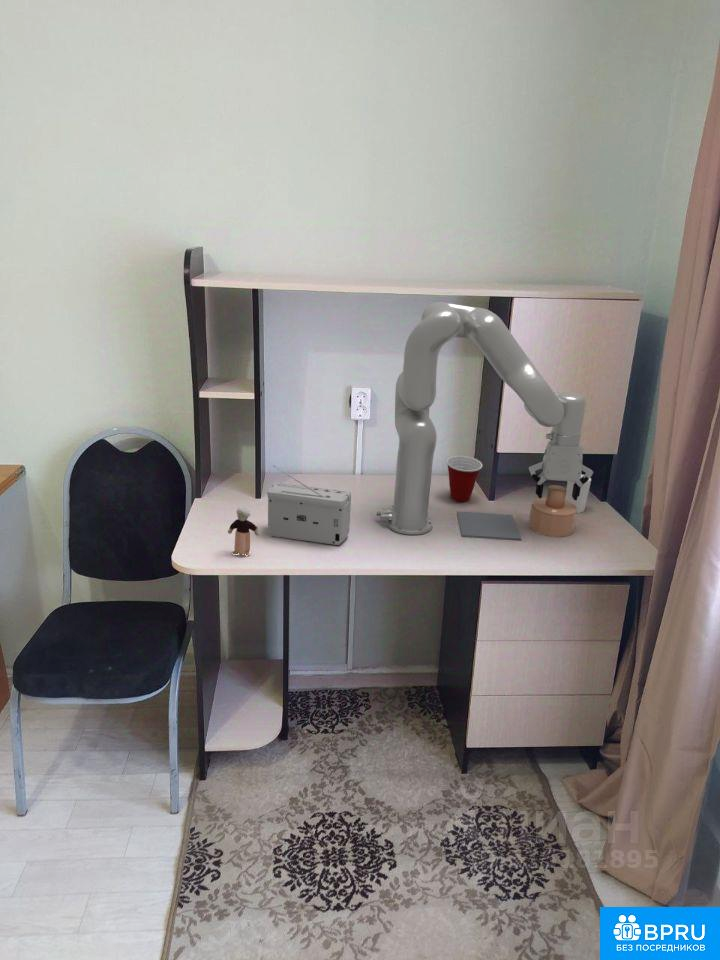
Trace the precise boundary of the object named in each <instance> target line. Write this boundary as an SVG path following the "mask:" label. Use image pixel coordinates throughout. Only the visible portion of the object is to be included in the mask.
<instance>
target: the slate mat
mask: <svg viewBox="0 0 720 960" xmlns="http://www.w3.org/2000/svg"><path fill="white" fill-rule="evenodd" d="M456 515H457V520H458V521H457V522H458V525H459V532H460V535H461V537H462V538H472V537H473V538H476V539H489V540H490V539H492V540H505V541H508V540H509V541H522V537H521V534H520V531H519V528H518V526H517V523H516V520H515V517H514V515H513V514H510V513H508V514H507V513H494V512H493V513H492V512H480V511H479V512H477V511H463V510H456Z"/></svg>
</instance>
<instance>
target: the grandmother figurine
mask: <svg viewBox="0 0 720 960" xmlns="http://www.w3.org/2000/svg"><path fill="white" fill-rule="evenodd" d="M236 515H237V519H235V520H234V521H232V523H231V525H229V528H228V531H227V533H228V534H232V533H233V531H234V530H235V529H236V530H235V534H234V535H235V536H234V548H233V549H234V550H233V551H232V552H231V554H232V553H233V554H238V553H239V554H240V555H242V554H244V555H245V554H246V555H248V554H249V551H250V552H251V532H250V530H251V531H252V532H253V533H254V535H255V536H256V537H257V536H259V535H260V532H259V530H258V526H256V524H254V523H253V522H251V521H250V520H248V518H249V517H250V516H251V512H250V510H249V509H248V508H247V507H246V506H239V507H238V508H237V509H236Z"/></svg>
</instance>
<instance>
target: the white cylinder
mask: <svg viewBox="0 0 720 960" xmlns="http://www.w3.org/2000/svg"><path fill="white" fill-rule="evenodd" d="M584 475H585V474H582V473H581V478H582V477H583V476H584ZM566 482H567V485H566V490H567V491H566V497H565V500H567V501H569V502H571V503H573V504H574V505H575V506H576V507H577V514H579V513H583V512H585V508H586V505H587V500H588V497H589V492H590V487H591V482H592V478H591V477H590V478H589V480H588V481H587V482H586V483H585V484H583V486H582V487H581V489H580V495H579V497H577V500H574V499H573V497H572V492H573V485H574V483H575V481H566Z"/></svg>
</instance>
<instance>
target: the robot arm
mask: <svg viewBox="0 0 720 960" xmlns="http://www.w3.org/2000/svg"><path fill="white" fill-rule="evenodd" d="M422 311H423V312H422V313H421V321H420V322H419V323H418V324H417V325H416V326H415V327H414V328H413V329H412V331H411V332H410V333H409V336H408V337H407V340H406V342H405V346H404V353H403V367H402V371H401V373H400V374H399V375H398V377H397V379H396V384H395V394H394V426H395V429H396V433H397V436H398V441H399V443H398V451H397V458H396V466H395V468H396V469H395V481H394V482H395V483H394V493H393V494H394V496H393V505H391V508H389V507H388V508H387V509H384V508H376V516H378V517H379V516H380V519H382V520H383V519H385V520H386V525H387V527H388V529H390V530H391V531H393V532H396V533H398V534H404V535H411V536H413V535H415V536H416V535H418V536H419V535H424V534H426V533H429V532H430V531H431V530H432V528H433V521H432V520H431V519H430V518H429V517H428V515H429V505H430V504H429V503H430V495H431V494H430V493H431V485H432V474H433V473H432V472H433V471H432V470H433V462H434V454H435V450H436V445H437V440H438V439H437V429H436V426H435V425H434V423H433V421H432V420H431V417H430V408H431V407H432V405H433V404H434V402H435V399H436V398H437V372H438V371H437V369H438V360H439V359H438V358H439V354H440V352H441V349H442V348H443V346H445V344H447V343H449V341H451V340H453V339H454V338H459V339H468V340H472V341H473V342H474V344H475V345H476V346H477V348H478V349H479V350H480V352H481V354H483V356H484V357H485V359H487V361H488V363H490V365H491V366H492V368H493V369H494V370H495V372H496V373H497V375H498V376H499V377H500V379H501V380H502V382H504V383H505V384H506V385H507V386H508V387H510V389H512V391H513V392H514V393H515V394H516V395H517V396H518V397H519V399H520V400H521V401H522V402H523V406H524V410H525V411H526V413H527V414H528V415H529V416H530V417H531V418H532V419H534V421H536V423H538V424H539V425H541V426H543V427H546V428H551V429H552V430H551V431H550V433H546V434H545V439H546V440H547V439H548V442H547V443H546V447H545V450H544V454H543V458H542V460H541V462H538V463H535V464H533V465H530V466H529V467H528V470H529V473H530V475H531V477H532V479H533V480H534V481H535V483H536V484H535V485H536V486H535V495H537V498H540V499H541V498H542V497H543V492H544V484H543V483H544V482H546V481H553V482H554V481H558V482H567V481H575V483H574V485H573V492H572V497H573V499H574V500H577V497H579V495H580V489H581V487H582V486H583V484H585V483H586V482H587V481H588V480H589V478H591V477H592V476H593V474H594V471H593V470H592V469H591V468H589V467H587V466H585V465H584V464H583V457H584V456H583V453H584V452H583V451H584V449H583V445H582V444H581V437H582V430H583V423H584V416H585V409H586V403H587V399H586V396H585V395H583V394H581V393H578V392H573V391H571V392H570V391H565V392H564V391H563V392H555V391H553V389H552V388H551V386H550V385H549V384H548V382H547V381H546V379H545V378H544V377H543V376H542V374H541V373H540V372H539V370H538V369H537V368H536V366H535V365H534V363H533V361H531V359H530V358H529V357H528V355H527V354H526V352H525V351H524V350H523V348H522V347H521V346H520V344H519V342H518V341H517V340H516V339H515V337H514V335H513V334H512V332H511V331H510V330H509V329H508V327H507V326H506V324H505V323H504V321H503V320H502V319H501V317H499V316H498V315H497V314H496V313H494V312H493V311H491V310H489V309H487V308H483V307H477V306H476V307H475V306H468V305H463V304H456V303H450V302H445V301H444V302H443V301H436V302H432V303H430V304H428V305H427V306H425V308H424V309H423V310H422ZM540 469H541V470H540ZM538 470H540V472H541V473H540V474H539V475H537V473H536V471H538ZM583 472H584V473H585V474H583V475H584V476H583V477H582V478H581V474H582V473H583Z"/></svg>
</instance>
